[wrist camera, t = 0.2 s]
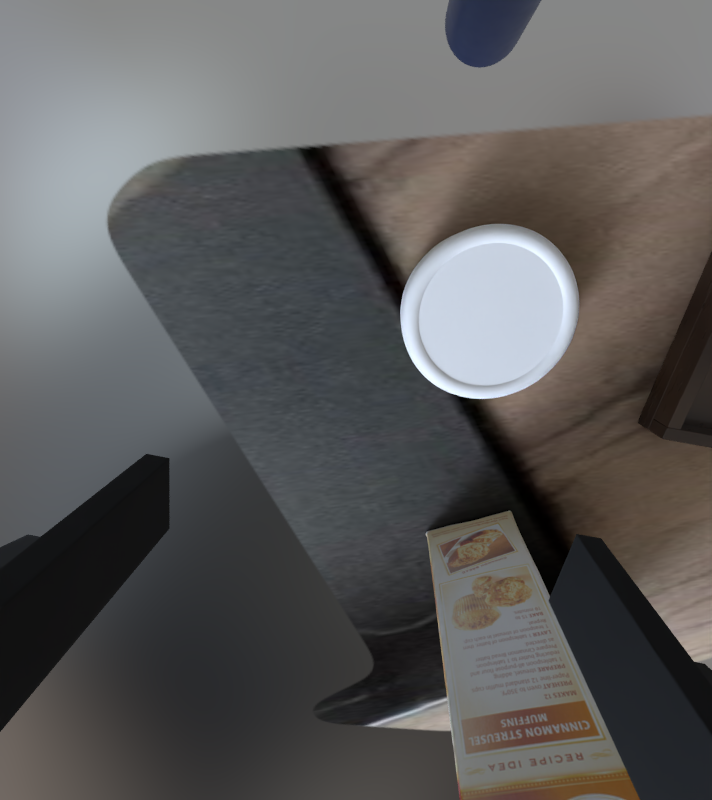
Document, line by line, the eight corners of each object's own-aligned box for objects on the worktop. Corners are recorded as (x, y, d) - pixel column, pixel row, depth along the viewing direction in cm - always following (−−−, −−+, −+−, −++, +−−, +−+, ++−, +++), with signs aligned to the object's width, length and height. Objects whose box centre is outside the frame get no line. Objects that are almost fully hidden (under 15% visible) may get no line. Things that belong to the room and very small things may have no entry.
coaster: (433, 406, 28) (439, 425, 25) (375, 272, 26) (373, 274, 22) (577, 349, 26) (604, 362, 23) (530, 197, 24) (553, 186, 20)
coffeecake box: (422, 530, 32) (464, 900, 13) (512, 506, 30) (696, 882, 12) (475, 663, 36) (562, 1084, 18) (556, 647, 35) (743, 1086, 16)
